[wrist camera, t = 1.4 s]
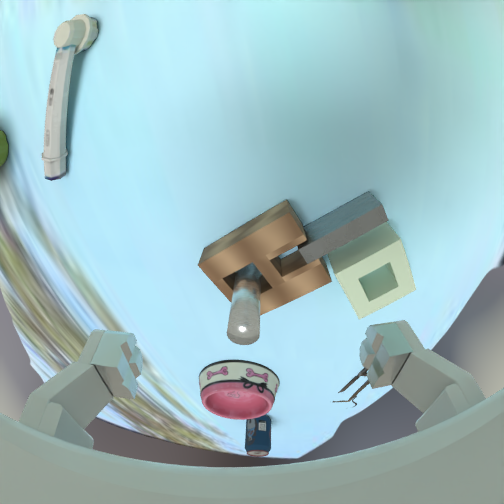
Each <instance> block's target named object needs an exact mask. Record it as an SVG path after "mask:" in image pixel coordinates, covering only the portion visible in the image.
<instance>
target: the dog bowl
mask: <svg viewBox="0 0 504 504" xmlns="http://www.w3.org/2000/svg"><path fill="white" fill-rule="evenodd" d="M199 385H200V396H201V399H202V403H203V405H204V407H205V408H206V409H207V410H208V411H210V412H212V413H213V414H216V415H218V416H221V417H225V418H230V419H241V420H243V419H253V418H257V417H261V416H263V415H265V414H267V413H268V412H269V411H270V410H271V408H272V406H273V403H274V401H275V395H276V392H277V389H278V387H279V378H278V376H277V375H276V374H275V373H274V372H273V371H272V370H271V369H269V368H267V367H265V366H263V365H261V364H258V363H254V362H250V361H244V360H224V361H219V362H215V363H212V364H210V365H208V366H207V367H205V368H204V369H203V370H202V371H201V373H200V375H199Z"/></svg>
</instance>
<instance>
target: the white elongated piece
mask: <svg viewBox="0 0 504 504" xmlns="http://www.w3.org/2000/svg"><path fill="white" fill-rule="evenodd" d="M98 30H99V29H97V21H96V20H95V19H94V18H90V17H89V16H88V15H87V14H82V15H76V16H75V17H74V18H72V19H71V20H70V21H65V22H63V23H62V24H61V25H60V26H59V27H58V28H57V30H56V32H55V34H54V45H55V46H56V47H57V50H56V55H55V59H54V64H53V69H52V74H51V80H50V86H49V93H48V100H47V109H46V119H45V133H44V152H43V153H42V160H44V172H45V179H48V180H51V181H52V180H56V179H61V178H62V177H63V176H65V175H66V156H67V155H68V152H67V149H66V121H67V106H68V94H69V85H70V78H71V70H72V64H73V58H74V54H78V53H79V52H80V51H85V50H86V49H88V48H89V47H90V46H91V44H92V42H93V41H94V39H95V38H97V34H98Z"/></svg>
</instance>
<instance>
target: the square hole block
mask: <svg viewBox="0 0 504 504" xmlns="http://www.w3.org/2000/svg"><path fill="white" fill-rule="evenodd" d="M328 257H329V260H330V263H331V265H332V268H333V271H334V274H335V276H336V278H337V279H338V281H339V283H340V285H341V287H342V288H343V290H344V292H345V294H346V296H347V298H348V299H349V301H350V303H351V305H352V307H353V309H354V310H355V312H356V314H357V316H358V318H359V319H361V318H363V317H365V316H367V315H369V314H371V313H373V312H375V311H377V310H379V309H381V308H383V307H385V306H387V305H389V304H391V303H393V302H394V301H396V300H398V299H400V298H402V297H404V296H405V295H407V294H409V293H411V292H413V291H414V290H416V287H415V284H414V280H413V276H412V273H411V270H410V266H409V263H408V260H407V256H406V253H405V250H404V247H403V244H402V241H401V239H400V237H399V236H398V235H397V234H396V233H395V231H394V230H393V229H392V228H391V227H390V226H389V224H388V223H387V222H385V223H383V224H381V225H379V226H378V227H376V228H374V229H372V230H370V231H369V232H367V233H365V234H363V235H361V236H359V237H358V238H356V239H354V240H352V241H350V242H348V243H347V244H345V245H343V246H341V247H339V248H337V249H335V250H333V251H332V252H330V253H328Z"/></svg>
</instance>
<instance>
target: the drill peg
mask: <svg viewBox="0 0 504 504" xmlns="http://www.w3.org/2000/svg"><path fill="white" fill-rule="evenodd" d="M260 296H261V272H260V271H259V270H258V268H257V267H256V266H255V264H254V263H253V262H252V263H250V264H249V265H247V266H245V267H243V268H241V269H239V270H237V271H236V276H235V282H234V289H233V295H232V302H231V309H230V315H229V322H228V329H227V336H228V338H229V339H230V340H231V341H232V342H234V343H236V344H240V345H249V344H252V343H254V342H256V341H257V340H258V339H259V334H260Z"/></svg>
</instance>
